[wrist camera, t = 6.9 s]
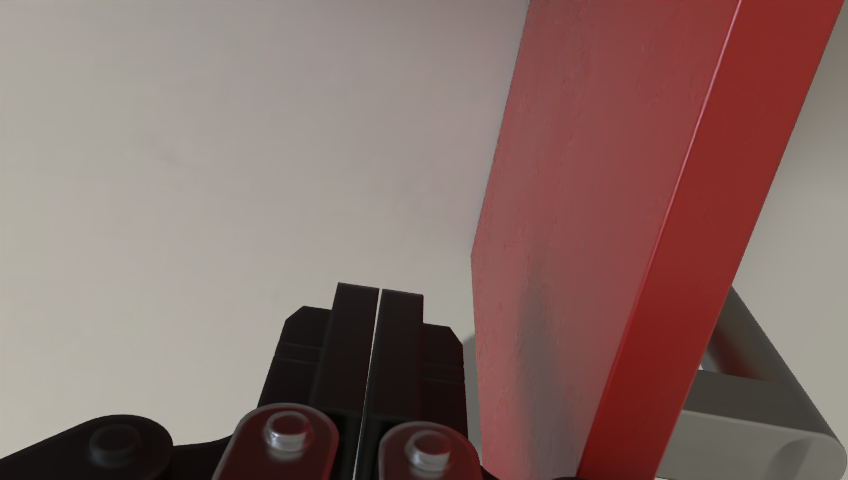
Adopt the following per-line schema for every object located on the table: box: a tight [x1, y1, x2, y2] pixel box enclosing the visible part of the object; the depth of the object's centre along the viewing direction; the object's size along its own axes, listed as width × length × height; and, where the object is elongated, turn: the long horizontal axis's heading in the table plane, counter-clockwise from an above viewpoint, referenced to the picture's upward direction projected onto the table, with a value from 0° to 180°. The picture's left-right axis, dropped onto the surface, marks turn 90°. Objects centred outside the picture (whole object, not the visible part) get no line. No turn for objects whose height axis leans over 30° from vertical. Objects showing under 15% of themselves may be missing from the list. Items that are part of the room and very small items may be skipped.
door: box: [471, 0, 847, 480], centre depth 15 cm, size 6×18×16 cm, turn 169°
